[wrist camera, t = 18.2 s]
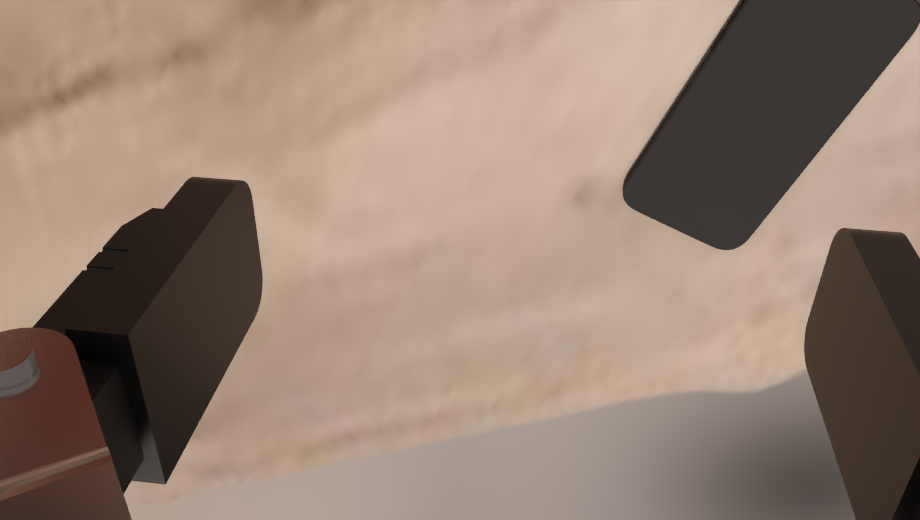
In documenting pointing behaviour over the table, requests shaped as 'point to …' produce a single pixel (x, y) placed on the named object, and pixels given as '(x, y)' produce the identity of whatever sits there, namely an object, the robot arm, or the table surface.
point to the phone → (763, 111)
